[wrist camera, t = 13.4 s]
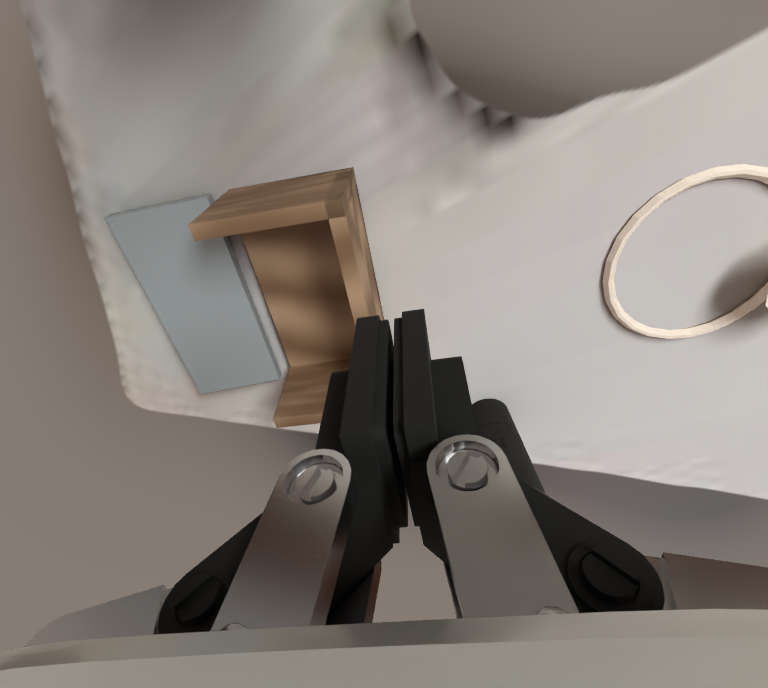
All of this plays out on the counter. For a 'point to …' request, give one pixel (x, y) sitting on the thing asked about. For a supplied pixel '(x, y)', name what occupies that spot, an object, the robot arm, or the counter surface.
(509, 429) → the drinking cup
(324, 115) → the counter surface
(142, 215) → the panel
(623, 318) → the hand towel holder
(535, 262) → the counter surface
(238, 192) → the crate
